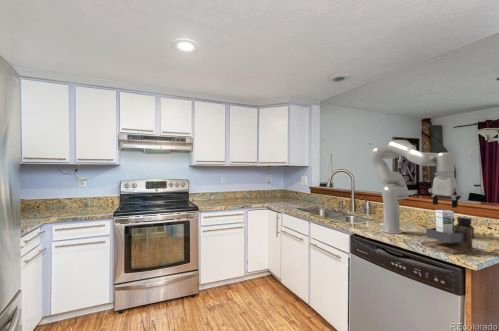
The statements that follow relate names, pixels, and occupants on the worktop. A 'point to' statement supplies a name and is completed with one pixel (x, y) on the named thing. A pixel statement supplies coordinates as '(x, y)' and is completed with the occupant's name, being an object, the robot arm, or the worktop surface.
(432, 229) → the open storage bin
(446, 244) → the bracket board
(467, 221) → the ink bottle
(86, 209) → the worktop surface
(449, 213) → the syrup box
